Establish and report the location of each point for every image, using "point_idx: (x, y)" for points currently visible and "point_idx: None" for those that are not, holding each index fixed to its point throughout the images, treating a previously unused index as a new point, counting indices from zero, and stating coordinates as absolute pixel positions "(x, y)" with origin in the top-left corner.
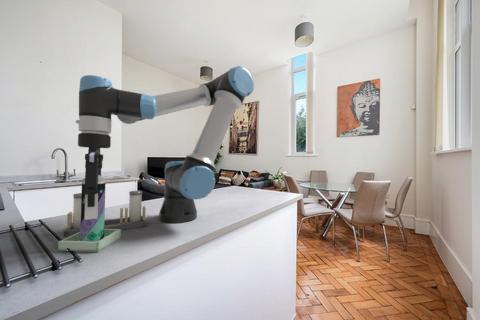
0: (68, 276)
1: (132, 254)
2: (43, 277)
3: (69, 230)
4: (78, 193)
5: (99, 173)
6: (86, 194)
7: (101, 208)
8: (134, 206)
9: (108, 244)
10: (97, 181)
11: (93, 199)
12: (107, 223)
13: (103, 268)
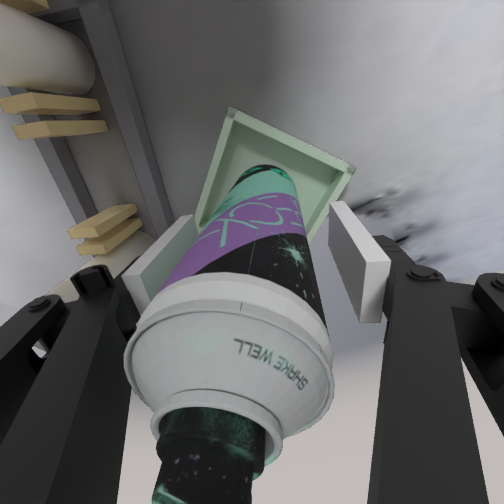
0: (466, 200)
1: (433, 30)
2: (433, 246)
3: None
4: (37, 344)
5: (74, 421)
6: (379, 316)
7: (285, 203)
8: (5, 40)
9: (301, 140)
10: (454, 348)
11: (406, 260)
12: (80, 183)
13: (483, 122)
